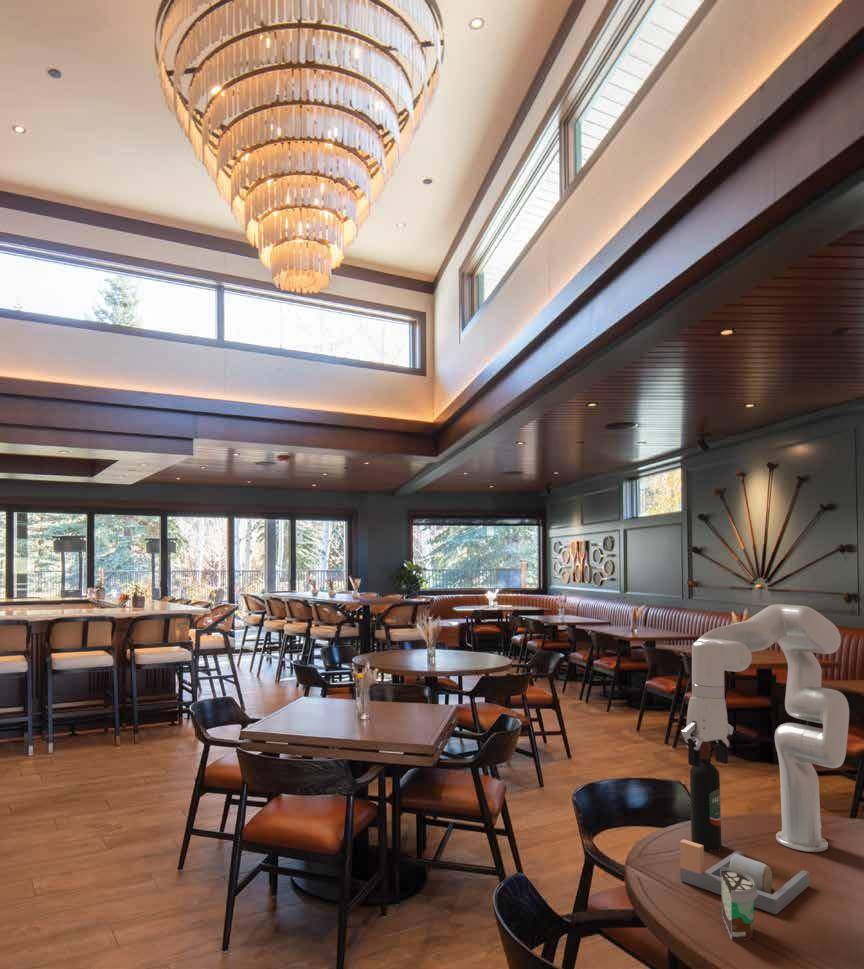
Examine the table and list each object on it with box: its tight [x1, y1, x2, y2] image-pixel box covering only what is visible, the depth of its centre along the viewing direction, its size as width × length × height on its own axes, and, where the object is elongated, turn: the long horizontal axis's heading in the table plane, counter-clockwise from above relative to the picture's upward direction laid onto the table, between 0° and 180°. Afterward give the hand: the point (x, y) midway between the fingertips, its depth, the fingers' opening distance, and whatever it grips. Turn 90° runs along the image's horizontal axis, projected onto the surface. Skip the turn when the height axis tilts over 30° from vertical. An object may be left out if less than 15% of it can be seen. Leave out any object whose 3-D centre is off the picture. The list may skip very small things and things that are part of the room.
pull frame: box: [679, 838, 810, 915], centre depth 170 cm, size 20×22×9 cm
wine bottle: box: [689, 741, 722, 852], centre depth 193 cm, size 8×8×30 cm
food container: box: [720, 867, 758, 941], centre depth 148 cm, size 12×6×10 cm, turn 168°
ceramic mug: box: [729, 854, 773, 894], centre depth 166 cm, size 11×8×8 cm
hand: (708, 764), depth 173 cm, fingers open, 9 cm apart
